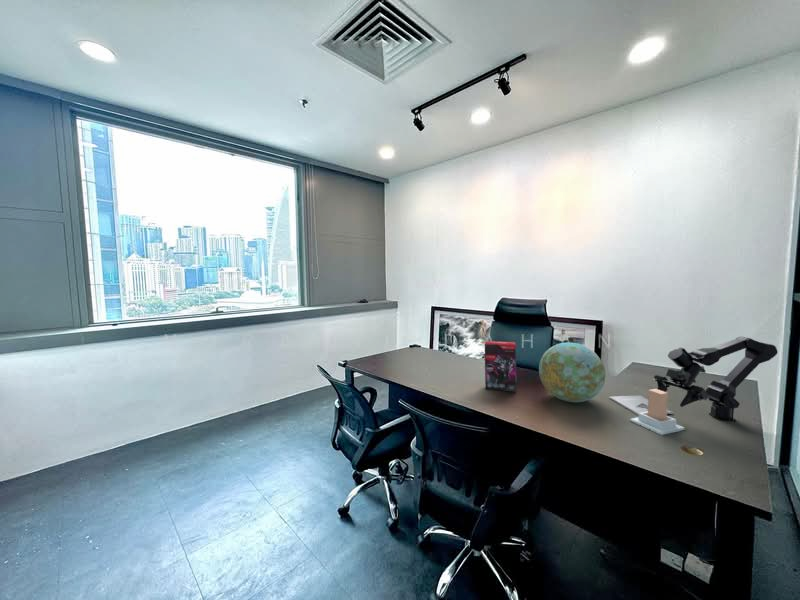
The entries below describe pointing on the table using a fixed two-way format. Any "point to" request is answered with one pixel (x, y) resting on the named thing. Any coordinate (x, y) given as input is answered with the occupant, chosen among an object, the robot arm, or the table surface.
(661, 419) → the tall salmon pillar
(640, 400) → the play button award
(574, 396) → the decorative globe
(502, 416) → the table surface
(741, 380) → the robot arm
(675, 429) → the white square socket base
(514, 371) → the graphics card box
